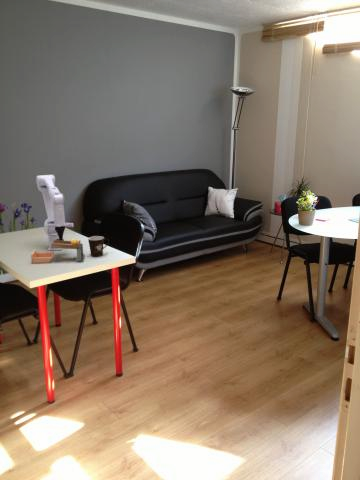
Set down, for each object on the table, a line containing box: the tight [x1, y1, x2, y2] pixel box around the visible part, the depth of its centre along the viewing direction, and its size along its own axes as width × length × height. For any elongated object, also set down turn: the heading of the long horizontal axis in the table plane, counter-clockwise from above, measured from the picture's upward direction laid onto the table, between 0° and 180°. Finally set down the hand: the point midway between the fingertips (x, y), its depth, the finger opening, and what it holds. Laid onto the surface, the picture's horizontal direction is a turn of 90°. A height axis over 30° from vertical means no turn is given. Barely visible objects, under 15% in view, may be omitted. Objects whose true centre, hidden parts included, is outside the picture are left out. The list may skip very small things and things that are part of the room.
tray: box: [30, 248, 55, 265], centre depth 238 cm, size 10×10×5 cm
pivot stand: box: [75, 243, 86, 263], centre depth 240 cm, size 11×4×7 cm, turn 6°
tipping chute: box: [51, 238, 83, 250], centre depth 241 cm, size 15×15×3 cm
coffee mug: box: [87, 235, 110, 258], centre depth 246 cm, size 12×9×10 cm
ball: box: [70, 238, 79, 245], centre depth 238 cm, size 4×4×4 cm
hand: (61, 239), depth 245 cm, fingers closed
